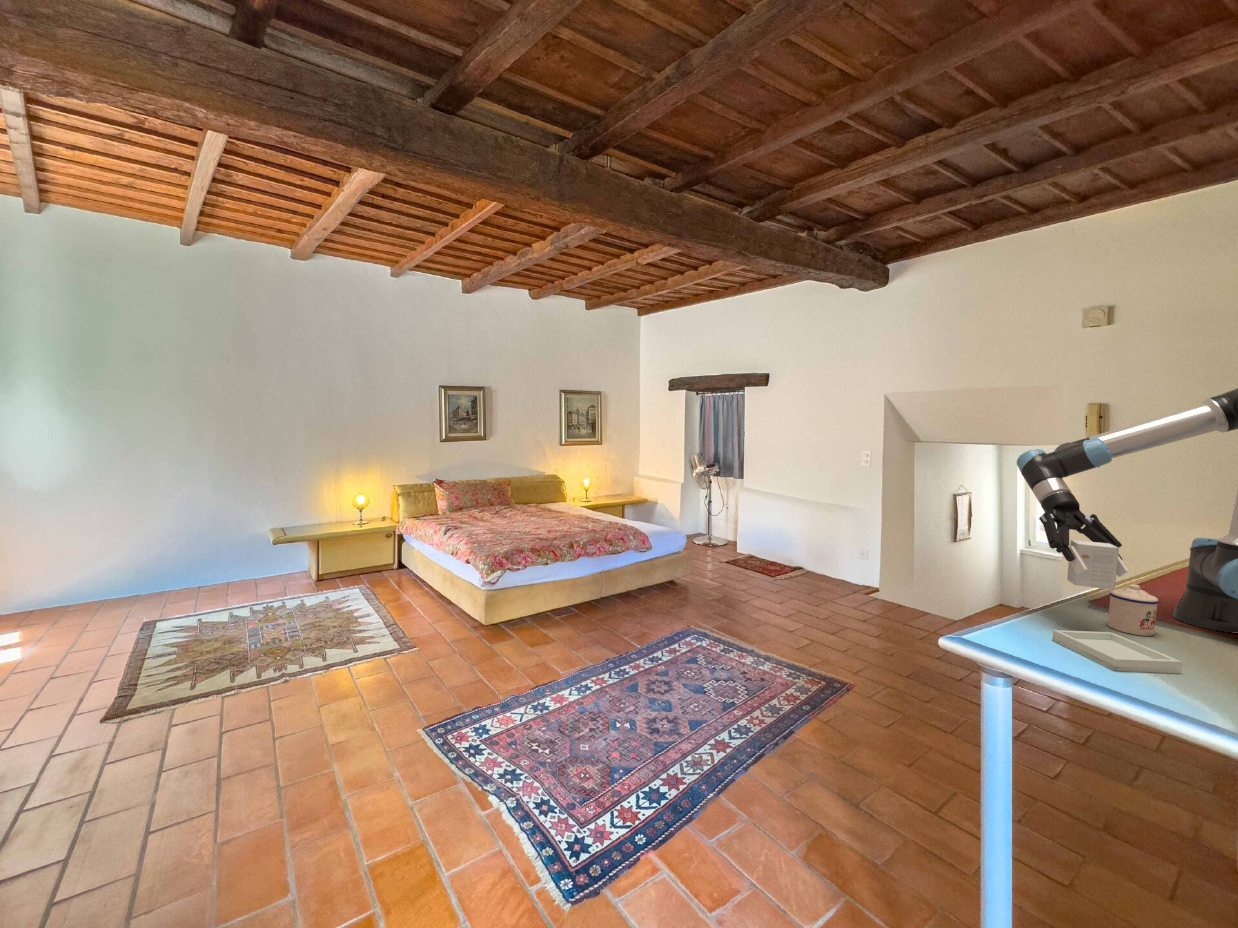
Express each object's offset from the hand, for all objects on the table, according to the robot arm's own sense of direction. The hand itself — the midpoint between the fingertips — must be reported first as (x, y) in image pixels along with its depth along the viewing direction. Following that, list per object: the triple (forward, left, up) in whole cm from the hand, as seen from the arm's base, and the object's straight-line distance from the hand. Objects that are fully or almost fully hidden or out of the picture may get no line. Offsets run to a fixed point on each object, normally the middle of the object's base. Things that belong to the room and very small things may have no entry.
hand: (1102, 572), depth 131 cm
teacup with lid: (-15, -6, -16) cm, 23 cm away
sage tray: (+7, +12, -16) cm, 21 cm away
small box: (0, -3, -4) cm, 5 cm away
